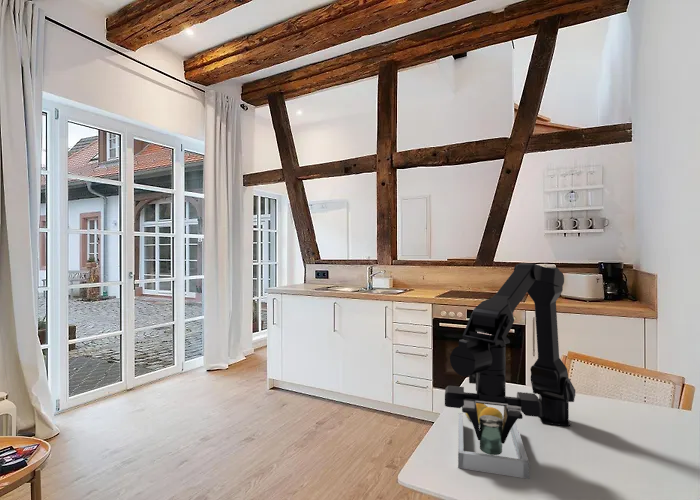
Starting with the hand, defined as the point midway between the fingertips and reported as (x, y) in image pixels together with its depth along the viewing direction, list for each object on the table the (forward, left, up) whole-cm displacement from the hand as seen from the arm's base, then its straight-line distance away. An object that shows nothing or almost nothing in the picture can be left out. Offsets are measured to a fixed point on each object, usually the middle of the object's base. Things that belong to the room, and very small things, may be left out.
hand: (490, 441), depth 80 cm
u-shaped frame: (0, -4, -3) cm, 5 cm away
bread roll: (0, -19, -4) cm, 19 cm away
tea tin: (0, 0, -2) cm, 2 cm away
